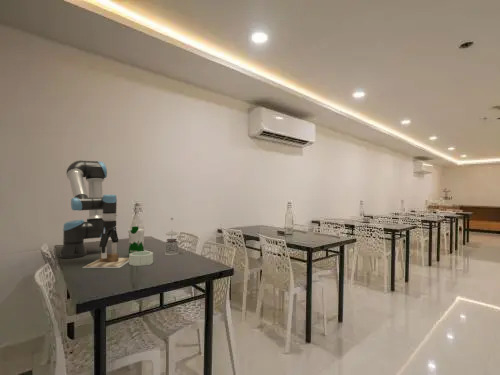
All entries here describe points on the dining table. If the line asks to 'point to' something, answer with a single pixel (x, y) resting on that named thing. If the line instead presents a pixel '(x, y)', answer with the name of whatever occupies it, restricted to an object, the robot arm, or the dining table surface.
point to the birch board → (105, 264)
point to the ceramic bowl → (141, 258)
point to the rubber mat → (107, 267)
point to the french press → (172, 244)
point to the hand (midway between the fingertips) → (109, 255)
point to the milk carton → (136, 239)
